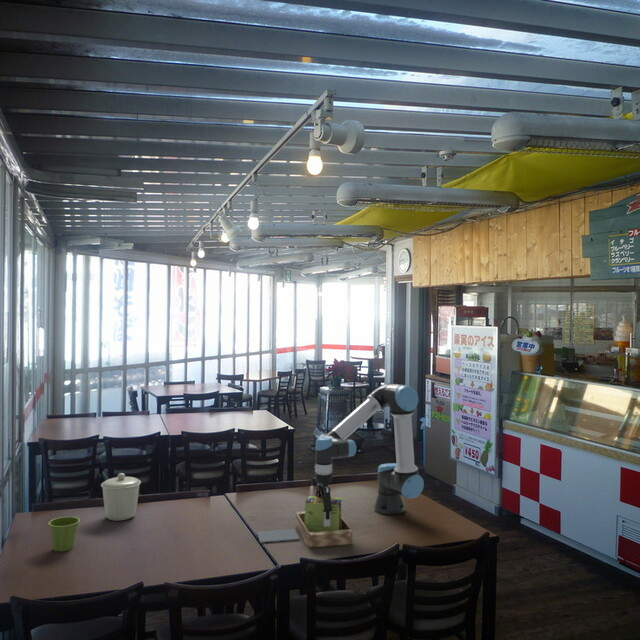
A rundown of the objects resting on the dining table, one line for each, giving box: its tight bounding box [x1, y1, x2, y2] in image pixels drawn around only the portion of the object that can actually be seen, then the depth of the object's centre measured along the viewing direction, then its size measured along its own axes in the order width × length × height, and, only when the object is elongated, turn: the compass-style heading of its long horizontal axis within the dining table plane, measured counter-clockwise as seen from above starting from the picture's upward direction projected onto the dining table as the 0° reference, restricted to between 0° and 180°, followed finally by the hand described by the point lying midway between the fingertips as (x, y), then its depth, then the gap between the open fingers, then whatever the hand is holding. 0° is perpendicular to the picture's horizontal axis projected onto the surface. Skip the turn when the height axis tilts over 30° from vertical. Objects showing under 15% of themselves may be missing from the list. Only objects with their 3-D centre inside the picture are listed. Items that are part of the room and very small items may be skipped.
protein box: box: [304, 495, 342, 533], centre depth 255 cm, size 10×15×16 cm
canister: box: [100, 472, 142, 522], centre depth 275 cm, size 18×18×21 cm
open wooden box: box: [295, 510, 353, 548], centre depth 255 cm, size 19×30×6 cm, turn 14°
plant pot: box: [48, 516, 81, 553], centre depth 236 cm, size 12×12×11 cm
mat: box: [256, 528, 300, 544], centre depth 252 cm, size 17×12×1 cm
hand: (323, 521), depth 254 cm, fingers open, 13 cm apart
